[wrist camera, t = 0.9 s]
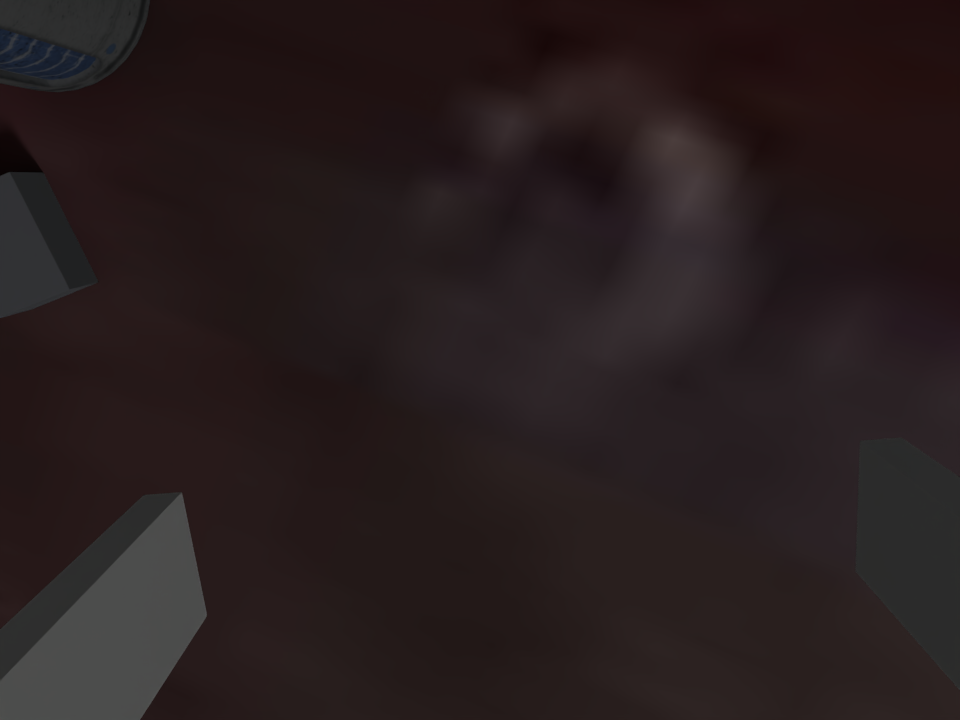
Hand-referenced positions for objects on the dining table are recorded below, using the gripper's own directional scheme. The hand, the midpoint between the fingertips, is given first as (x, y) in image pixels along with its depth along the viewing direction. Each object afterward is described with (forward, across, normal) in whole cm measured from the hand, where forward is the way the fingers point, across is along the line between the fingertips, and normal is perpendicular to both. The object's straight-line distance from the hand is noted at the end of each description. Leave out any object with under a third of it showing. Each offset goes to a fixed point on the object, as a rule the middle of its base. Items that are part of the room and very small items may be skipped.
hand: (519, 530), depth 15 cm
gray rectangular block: (+26, -24, +5) cm, 36 cm away
